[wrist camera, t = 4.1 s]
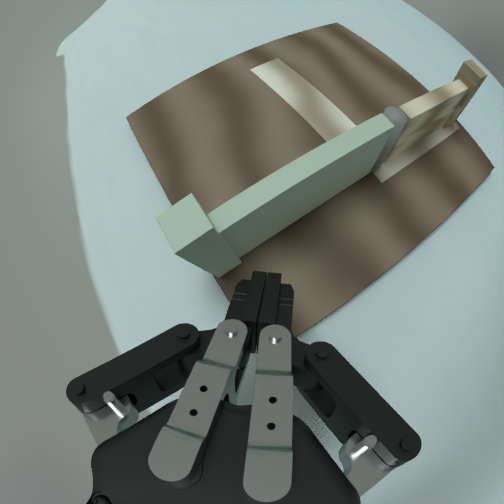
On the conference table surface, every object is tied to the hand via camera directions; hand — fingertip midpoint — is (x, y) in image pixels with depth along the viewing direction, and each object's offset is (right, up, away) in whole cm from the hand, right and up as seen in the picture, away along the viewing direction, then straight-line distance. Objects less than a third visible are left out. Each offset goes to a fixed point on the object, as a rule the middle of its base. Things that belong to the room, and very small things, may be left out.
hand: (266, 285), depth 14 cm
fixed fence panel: (+15, +13, +6) cm, 21 cm away
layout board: (+6, +13, +9) cm, 17 cm away
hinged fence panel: (+3, +5, +6) cm, 8 cm away
